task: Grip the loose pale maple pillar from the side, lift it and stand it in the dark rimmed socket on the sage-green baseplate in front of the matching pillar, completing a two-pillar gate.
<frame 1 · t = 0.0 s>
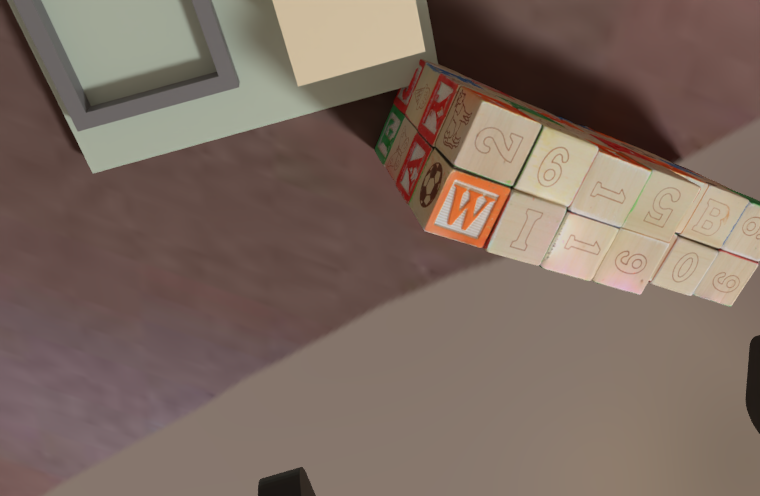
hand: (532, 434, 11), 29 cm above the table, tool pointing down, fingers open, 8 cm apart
stack of blocks: (537, 158, 42), on the table, touching baseplate
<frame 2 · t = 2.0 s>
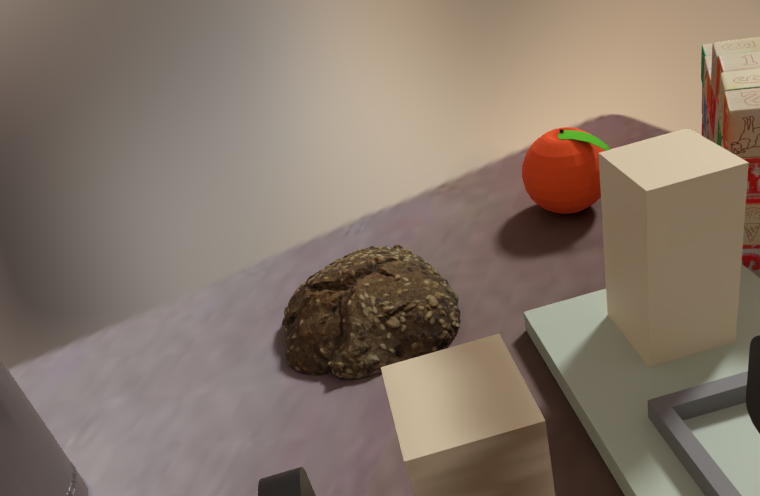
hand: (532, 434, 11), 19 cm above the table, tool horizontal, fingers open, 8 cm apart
clementine: (574, 211, 55), on the table
baseplate: (718, 405, 35), on the table
stack of blocks: (753, 203, 50), on the table, touching baseplate
bread roll: (368, 326, 48), on the table
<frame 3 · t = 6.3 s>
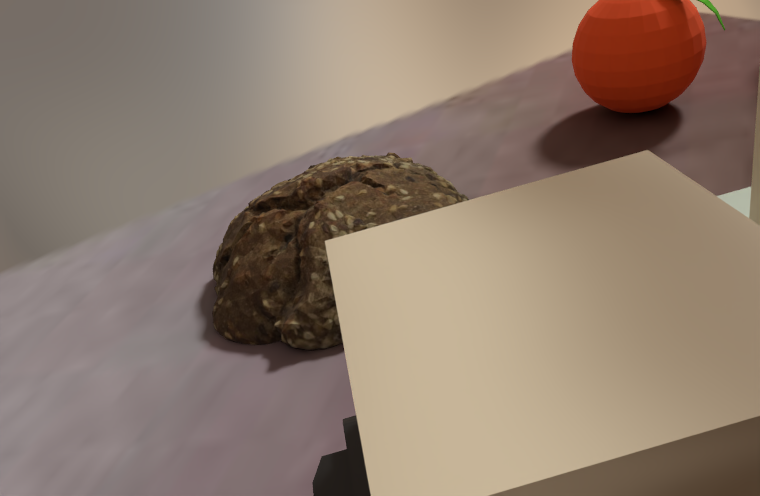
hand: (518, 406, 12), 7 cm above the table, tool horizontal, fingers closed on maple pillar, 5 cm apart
clementine: (647, 112, 38), on the table
bread roll: (347, 273, 31), on the table
when the fingers open (10 cm above the table, at t = 11.5 s): maple pillar drops 2 cm, resting on baseplate.
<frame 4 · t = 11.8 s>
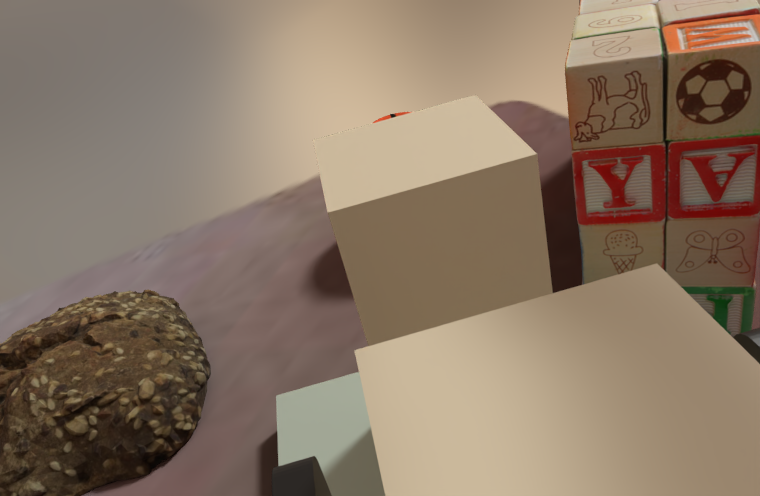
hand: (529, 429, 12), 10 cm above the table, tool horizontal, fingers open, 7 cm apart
stack of blocks: (654, 218, 35), on the table, touching baseplate
bread roll: (88, 416, 32), on the table
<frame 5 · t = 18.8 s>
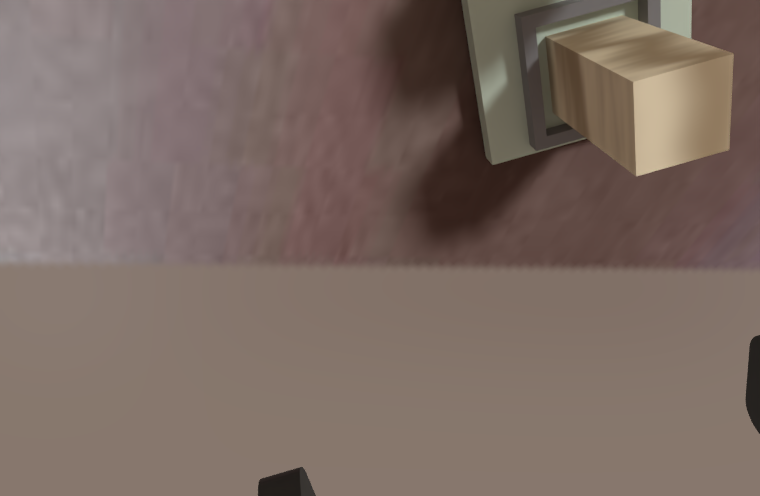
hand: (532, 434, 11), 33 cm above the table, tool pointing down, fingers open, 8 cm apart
maple pillar: (586, 65, 42), point 1 cm above the table, touching baseplate
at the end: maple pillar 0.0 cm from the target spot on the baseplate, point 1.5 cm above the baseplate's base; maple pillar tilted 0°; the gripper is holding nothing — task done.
